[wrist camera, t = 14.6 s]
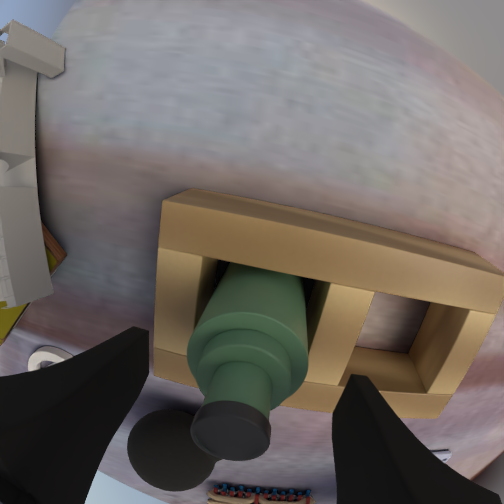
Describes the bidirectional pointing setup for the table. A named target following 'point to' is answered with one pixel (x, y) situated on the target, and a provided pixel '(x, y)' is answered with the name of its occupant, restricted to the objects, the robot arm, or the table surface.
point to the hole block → (327, 295)
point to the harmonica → (7, 319)
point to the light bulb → (168, 451)
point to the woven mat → (255, 496)
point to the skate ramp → (22, 164)
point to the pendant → (47, 357)
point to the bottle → (247, 359)
